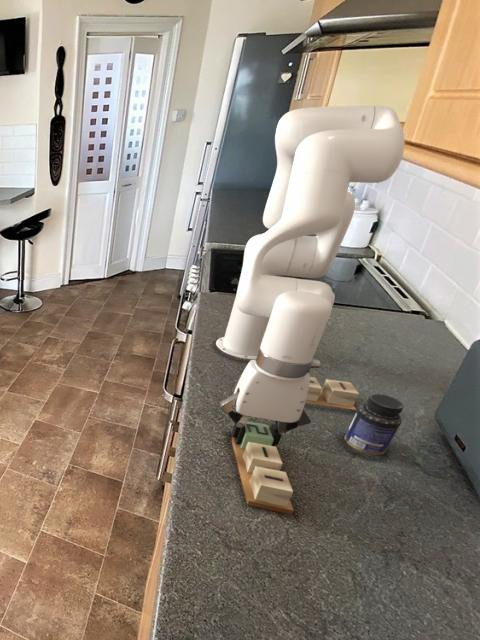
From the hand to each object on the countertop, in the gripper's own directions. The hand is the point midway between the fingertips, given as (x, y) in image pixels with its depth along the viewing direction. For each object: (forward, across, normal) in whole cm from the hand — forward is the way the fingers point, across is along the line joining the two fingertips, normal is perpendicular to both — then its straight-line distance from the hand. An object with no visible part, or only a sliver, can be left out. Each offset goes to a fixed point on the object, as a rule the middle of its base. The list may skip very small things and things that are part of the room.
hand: (252, 442), depth 83 cm
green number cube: (0, 0, 0) cm, 0 cm away
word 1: (+2, 0, +6) cm, 6 cm away
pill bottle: (+2, -20, -7) cm, 21 cm away
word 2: (+1, -14, -22) cm, 26 cm away
